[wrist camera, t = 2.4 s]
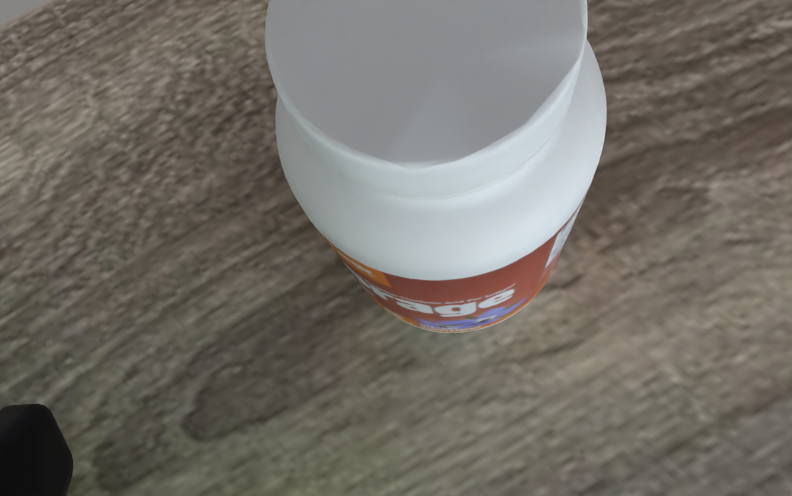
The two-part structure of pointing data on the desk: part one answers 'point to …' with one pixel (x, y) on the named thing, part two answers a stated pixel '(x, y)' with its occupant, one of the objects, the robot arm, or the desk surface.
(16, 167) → the desk surface
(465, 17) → the pill bottle
